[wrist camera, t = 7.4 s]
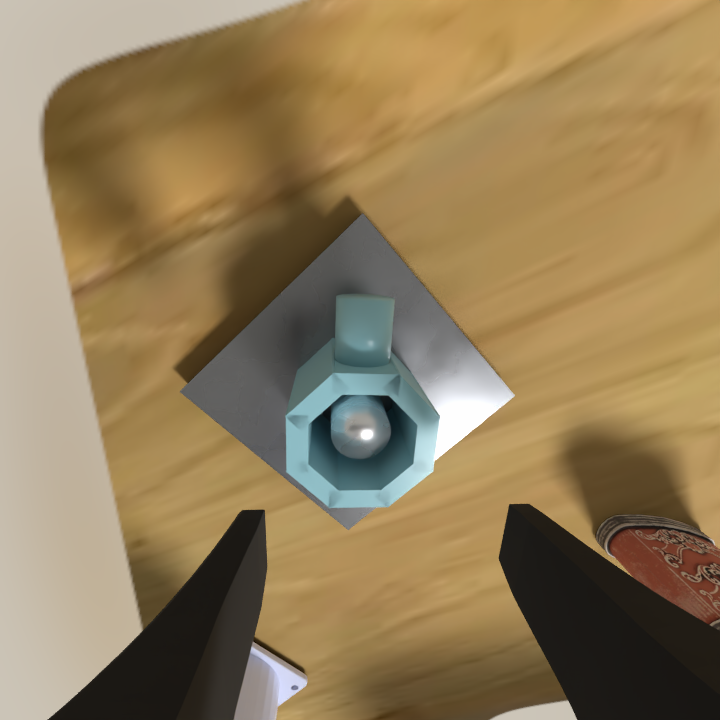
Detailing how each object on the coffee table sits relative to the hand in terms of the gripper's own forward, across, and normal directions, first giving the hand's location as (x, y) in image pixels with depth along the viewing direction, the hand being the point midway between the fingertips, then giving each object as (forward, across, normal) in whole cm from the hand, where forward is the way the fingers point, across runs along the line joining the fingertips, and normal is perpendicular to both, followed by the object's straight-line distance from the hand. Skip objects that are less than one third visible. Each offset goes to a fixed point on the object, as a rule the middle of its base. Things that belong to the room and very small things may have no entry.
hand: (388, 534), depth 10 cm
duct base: (+9, 0, -1) cm, 9 cm away
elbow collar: (+8, 0, -2) cm, 9 cm away
